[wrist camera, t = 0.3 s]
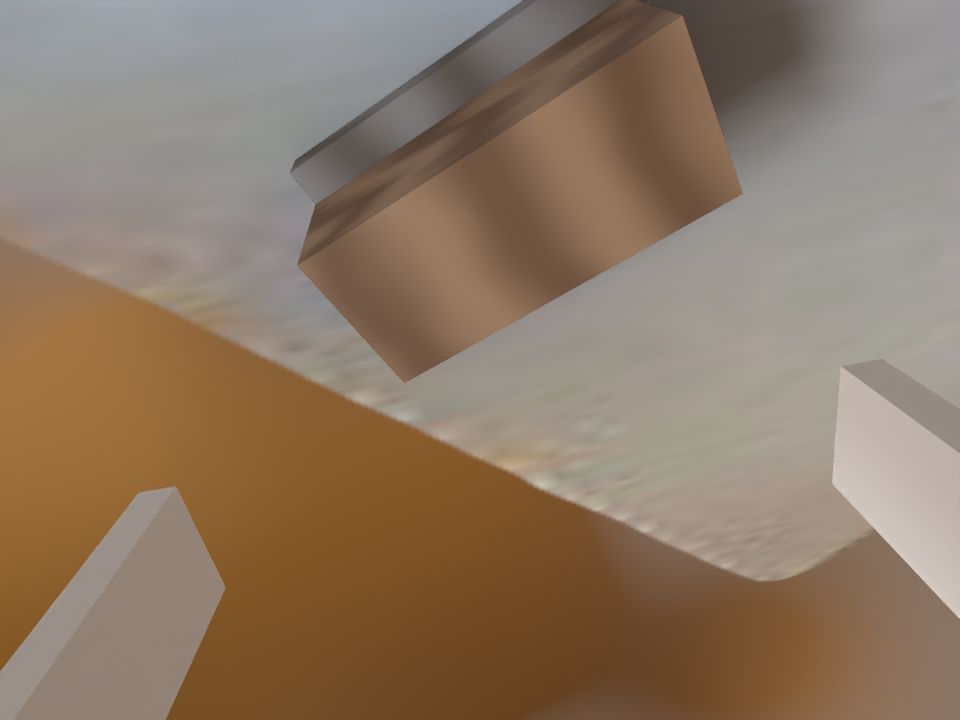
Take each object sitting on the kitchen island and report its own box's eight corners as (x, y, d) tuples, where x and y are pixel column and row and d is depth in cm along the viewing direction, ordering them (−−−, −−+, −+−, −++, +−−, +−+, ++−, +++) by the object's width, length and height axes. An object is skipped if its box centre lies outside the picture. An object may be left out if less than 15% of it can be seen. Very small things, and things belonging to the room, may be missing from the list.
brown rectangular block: (422, 316, 39) (426, 407, 32) (295, 160, 32) (264, 229, 25) (680, 164, 35) (754, 229, 27) (596, -51, 28) (663, -41, 21)
